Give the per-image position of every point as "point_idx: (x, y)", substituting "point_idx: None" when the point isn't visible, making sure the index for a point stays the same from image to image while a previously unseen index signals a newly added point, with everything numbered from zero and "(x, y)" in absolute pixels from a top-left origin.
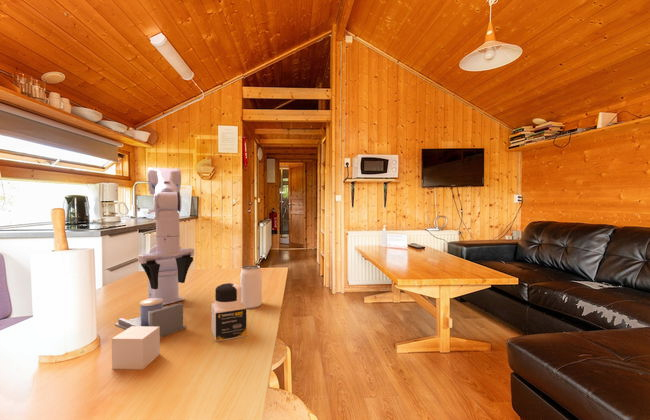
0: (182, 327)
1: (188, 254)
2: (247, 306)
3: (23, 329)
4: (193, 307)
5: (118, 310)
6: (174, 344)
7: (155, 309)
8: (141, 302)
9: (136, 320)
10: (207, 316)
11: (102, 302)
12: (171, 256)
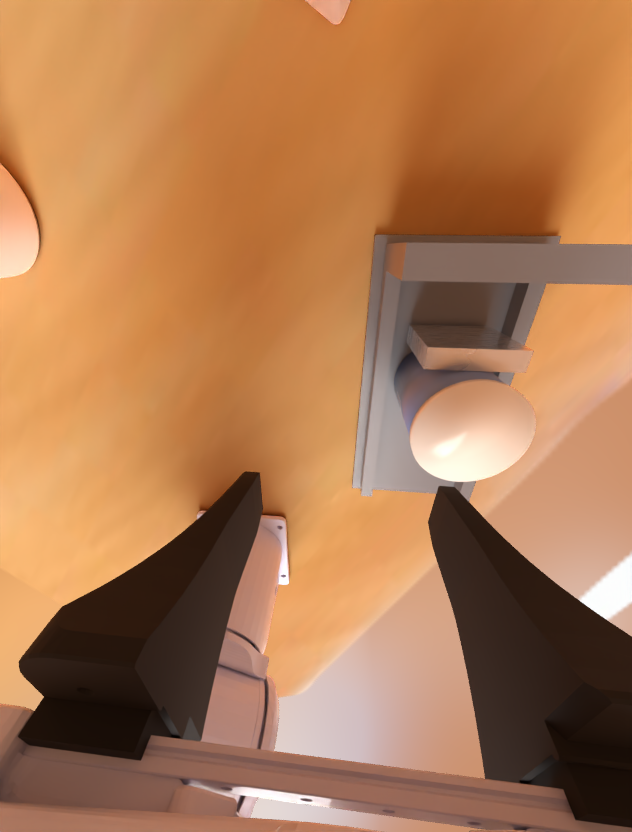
0: (392, 241)
1: (42, 751)
2: (8, 178)
3: None
4: (214, 427)
5: (376, 574)
6: (567, 56)
7: (487, 367)
8: (509, 458)
9: (419, 469)
10: (229, 282)
11: (358, 637)
12: (291, 799)
